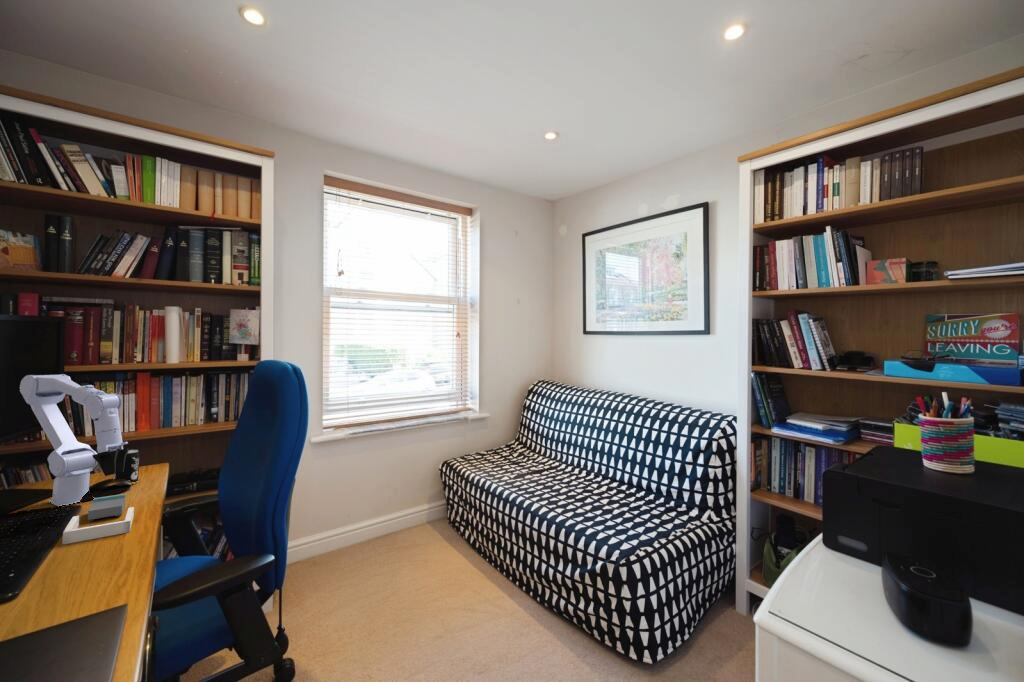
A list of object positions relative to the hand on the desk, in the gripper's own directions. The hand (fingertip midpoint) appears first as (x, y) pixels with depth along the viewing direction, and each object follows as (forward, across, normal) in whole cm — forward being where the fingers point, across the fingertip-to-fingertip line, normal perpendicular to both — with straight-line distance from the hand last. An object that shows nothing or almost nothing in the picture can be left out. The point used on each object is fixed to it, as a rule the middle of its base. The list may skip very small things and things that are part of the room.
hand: (114, 474), depth 129 cm
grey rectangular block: (+11, -6, +1) cm, 13 cm away
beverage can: (+5, +27, +5) cm, 27 cm away
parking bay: (+14, -19, -1) cm, 24 cm away
